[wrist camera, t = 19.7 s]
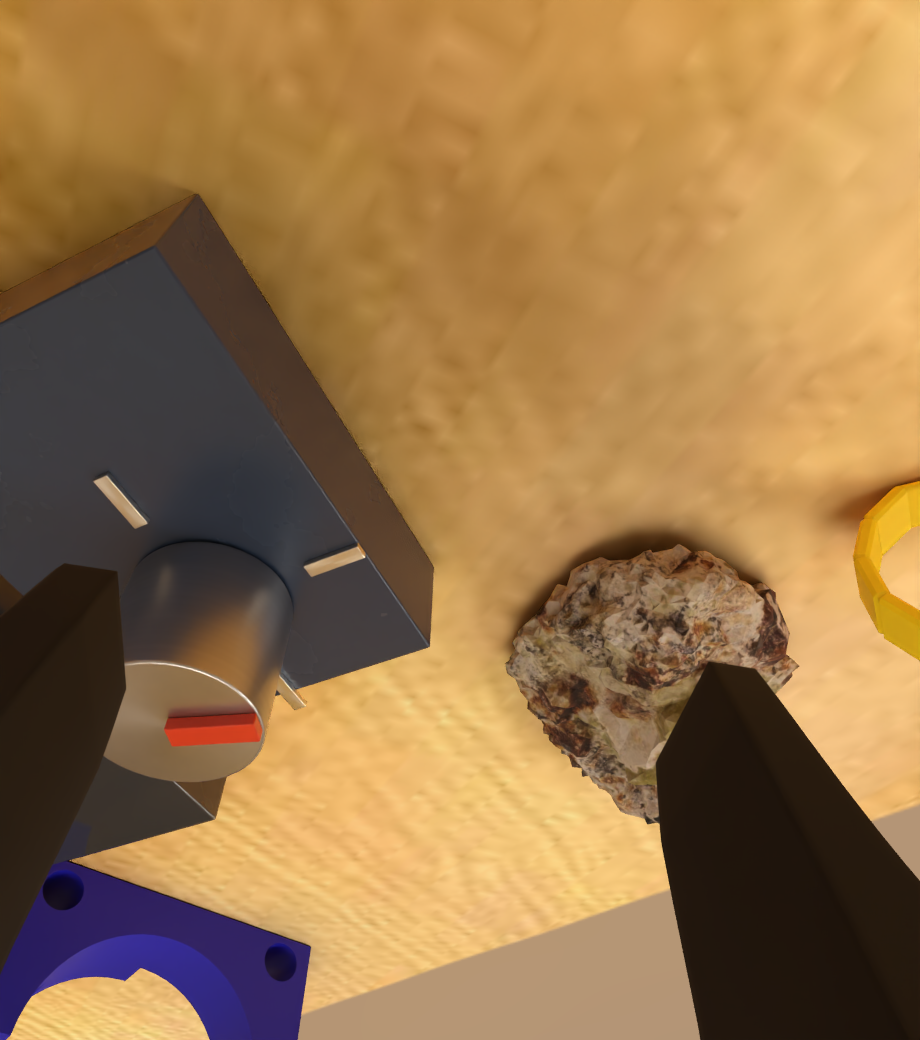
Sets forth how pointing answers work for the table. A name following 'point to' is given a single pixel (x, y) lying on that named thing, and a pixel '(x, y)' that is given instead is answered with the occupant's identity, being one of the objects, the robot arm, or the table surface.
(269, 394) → the rotary dial switch
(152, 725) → the tap knob
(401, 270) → the table surface
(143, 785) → the dark marbled square slab
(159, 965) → the blue semicircular bracket
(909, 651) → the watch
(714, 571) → the mineral rock
